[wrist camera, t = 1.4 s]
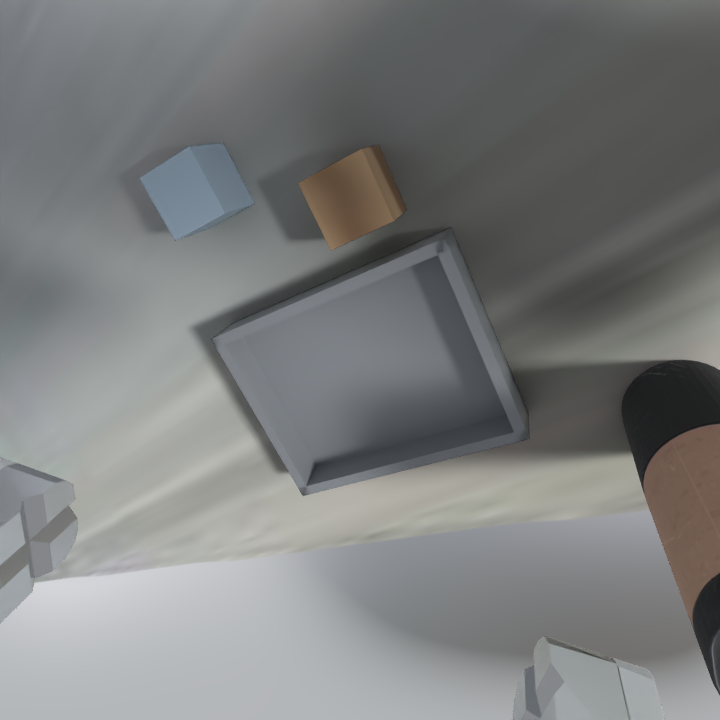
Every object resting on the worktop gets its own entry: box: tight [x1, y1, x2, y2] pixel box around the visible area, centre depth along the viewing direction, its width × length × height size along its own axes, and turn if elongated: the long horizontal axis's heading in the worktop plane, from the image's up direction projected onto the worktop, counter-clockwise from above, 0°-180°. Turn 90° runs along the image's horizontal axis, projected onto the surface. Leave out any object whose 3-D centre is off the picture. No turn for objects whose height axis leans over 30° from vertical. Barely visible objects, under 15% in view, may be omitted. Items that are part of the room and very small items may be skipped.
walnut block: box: [298, 145, 407, 250], centre depth 34 cm, size 4×4×4 cm
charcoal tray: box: [211, 227, 530, 496], centre depth 39 cm, size 19×15×4 cm
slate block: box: [139, 143, 254, 241], centre depth 36 cm, size 4×4×4 cm
